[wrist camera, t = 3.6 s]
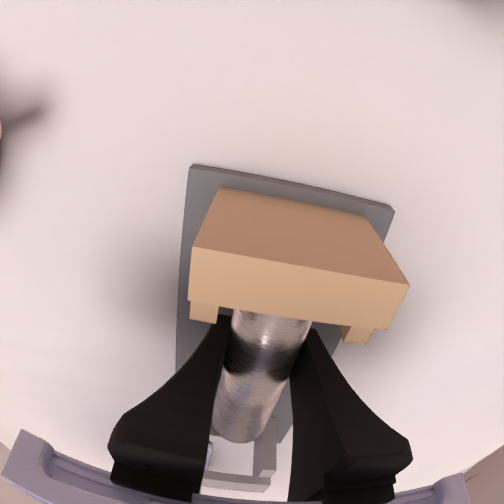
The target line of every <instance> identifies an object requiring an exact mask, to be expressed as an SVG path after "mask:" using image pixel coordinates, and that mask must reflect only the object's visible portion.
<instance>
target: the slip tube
mask: <svg viewBox="0 0 504 504" xmlns="http://www.w3.org/2000/svg"><path fill="white" fill-rule="evenodd" d="M311 323H312V321H307V320H300V319H294V318H287V317H280V316H274V315H268V314H261V313H255V312H249V311H243V310H238V309H233V314H232V319H231V329H230V334H229V339H228V344H227V349H226V354H225V359H224V364H223V369H222V373H221V377H220V381H219V387H218V392H217V397H216V402H215V408H214V413H213V425H214V428H215V430H216V431H217V432H218V434H219V435H220V436H222V437H223V438H224V439H226V440H228V441H231V442H235V443H247V442H251V441H253V440H255V439H256V438H258V437H259V436H260V435H261V433H262V432H263V430H264V428H265V426H266V424H267V422H268V420H269V418H270V416H271V413H272V411H273V409H274V407H275V405H276V403H277V401H278V399H279V397H280V395H281V392H282V390H283V388H284V386H285V384H286V382H287V379H288V377H289V375H290V373H291V370H292V368H293V366H294V364H295V361H296V359H297V357H298V354H299V352H300V350H301V347H302V345H303V343H304V340H305V338H306V336H307V333H308V331H309V328H310V326H311Z"/></svg>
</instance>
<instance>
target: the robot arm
mask: <svg viewBox="0 0 504 504" xmlns="http://www.w3.org/2000/svg"><path fill="white" fill-rule="evenodd" d="M231 319H232V316H228V315H222V314H218V316H217V321H216V324H214V323H212V324H211V326H210V328H209V330H208V331H207V333H206V335H205V336H204V338H203V339H202V341H201V342H200V344H199V346H198V347H197V348H196V350H195V351H194V352H193V354H192V355H191V356H190V357H189V359H188V360H187V361H186V362H185V364H184V365H183V366H182V367H181V368H180V369H179V370H178V371H177V372H176V373H175V374H174V375H173V376H172V377H171V378H170V379H169V380H168V381H167V382H166V383H165V384H164V385H163V386H162V387H161V388H159V389H158V390H157V391H156V392H155V393H153V394H152V395H151V396H149V397H148V398H147V399H146V400H144V401H143V402H141V403H140V404H138V405H137V406H135V407H134V408H132V409H131V410H129V411H127V412H126V413H124V414H123V415H122V417H121V418H120V420H119V421H118V423H117V424H116V426H115V428H114V430H113V432H112V434H111V437H110V440H109V443H108V446H107V447H108V450H109V452H110V454H111V456H112V458H113V460H114V461H115V462H114V465H113V469H112V472H108V471H105V470H102V469H100V468H97V467H94V466H91V465H89V464H86V463H83V462H81V461H78V460H76V459H73V458H71V457H69V456H66V455H64V454H62V453H59V452H57V451H55V450H54V449H53V447H52V446H51V445H50V444H49V443H48V442H46V441H45V440H43V439H41V438H39V437H37V436H35V435H33V434H31V433H29V432H27V431H25V430H24V429H22V430H20V433H19V435H18V437H17V439H16V441H15V443H14V446H13V448H12V450H11V452H10V455H9V457H8V459H7V462H6V464H5V466H4V469H3V471H2V474H1V476H2V477H3V478H4V479H5V480H7V481H8V482H9V483H11V484H12V485H14V486H15V487H17V488H18V489H20V490H21V491H23V492H24V493H25V494H27V495H29V496H31V497H32V498H34V499H36V500H38V501H40V502H42V503H44V504H471V503H470V499H469V495H468V491H467V487H466V483H465V480H464V476H463V473H458V474H454V475H451V476H447V477H445V478H442V479H440V480H439V481H437V482H435V483H434V484H433V485H430V486H426V487H422V488H417V489H413V490H408V491H403V492H398V493H394V489H393V484H394V483H396V478H395V475H396V474H398V473H399V472H400V471H402V470H403V469H405V468H406V467H407V466H408V465H409V464H410V463H411V462H412V460H413V456H412V452H411V447H410V444H409V441H408V439H406V438H405V437H403V436H402V435H401V434H399V433H398V432H396V431H395V430H394V429H392V428H391V427H390V426H388V425H387V424H386V423H385V422H384V421H382V420H381V419H380V418H379V417H378V416H377V415H376V414H375V413H374V412H373V411H372V410H371V409H370V408H369V407H368V406H367V405H366V404H365V403H364V402H363V401H362V400H361V399H360V398H359V396H358V395H357V394H356V393H355V392H354V390H353V389H352V388H351V386H350V385H349V384H348V382H347V381H346V380H345V378H344V377H343V375H342V374H341V372H340V371H339V369H338V367H337V366H336V364H335V363H334V361H333V359H332V358H331V356H330V354H329V352H328V351H327V349H326V347H325V345H324V343H323V342H322V340H321V338H320V336H319V334H318V332H317V331H316V329H311V328H309V331H308V333H307V336H306V338H305V340H304V343H303V345H302V347H301V350H300V352H299V354H298V357H297V359H296V361H295V364H294V366H293V368H292V370H291V373H290V375H289V382H290V394H291V404H292V415H293V449H292V465H291V476H290V485H289V492H288V500H287V502H274V501H255V500H242V499H232V498H223V497H215V496H208V495H202V494H200V493H201V483H202V479H203V474H204V470H206V471H207V470H208V465H209V461H210V457H211V452H212V447H213V446H212V445H211V444H210V443H209V436H210V428H211V421H212V414H213V406H214V400H215V396H216V392H217V389H218V385H219V381H220V377H221V373H222V369H223V364H224V359H225V354H226V349H227V344H228V339H229V334H230V329H231Z"/></svg>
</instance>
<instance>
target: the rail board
mask: <svg viewBox="0 0 504 504" xmlns="http://www.w3.org/2000/svg"><path fill="white" fill-rule="evenodd" d="M394 213H395V211H394V210H393V209H392V208H391V206H388V205H385V204H381V203H377V202H373V201H370V200H366V199H362V198H358V197H354V196H350V195H346V194H342V193H338V192H334V191H329V190H325V189H321V188H316V187H312V186H307V185H303V184H298V183H293V182H289V181H284V180H279V179H274V178H269V177H264V176H259V175H253V174H248V173H242V172H237V171H231V170H225V169H219V168H213V167H207V166H201V165H194V164H193V165H192V166H191V167H190V168H189V173H188V182H187V191H186V200H185V210H184V220H183V231H182V243H181V256H180V270H179V286H178V305H177V329H176V372H177V371H178V370H179V369H180V368H181V367H182V366H183V365H184V364H185V362H186V361H187V360H188V359H189V357H190V356H191V355H192V354H193V352H194V351H195V350H196V348H197V347H198V346H199V344H200V342H201V341H202V339H203V338H204V336H205V335H206V333H207V331H208V330H209V328H210V326H211V324H212V323H214V324H216V321H217V316H218V314H222V315H228V316H232V314H233V309H238V310H243V311H249V312H255V313H261V314H268V315H274V316H280V317H287V318H294V319H300V320H307V321H312V323H311V326H310V328H311V329H316V331H317V332H318V334H319V336H320V338H321V340H322V342H323V343H324V345H325V347H326V349H327V351H328V352H329V354H330V356H332V354H333V352H334V350H335V348H336V346H337V344H338V342H339V340H340V338H341V336H342V339H343V342H347V343H357V344H366V342H367V341H368V339H369V337H370V335H371V334H372V332H373V330H374V329H381V330H386V329H387V328H388V326H389V324H390V322H391V320H392V319H393V317H394V315H395V313H396V311H397V309H398V308H399V306H400V304H401V302H402V300H403V298H404V296H405V294H406V292H407V290H408V288H409V286H410V284H409V283H408V281H407V280H406V278H405V276H404V275H403V273H402V271H401V270H400V268H399V267H398V265H397V263H396V262H395V260H394V259H393V257H392V256H391V254H390V253H389V251H388V250H387V248H386V247H385V245H384V240H385V237H386V235H387V232H388V230H389V227H390V224H391V222H392V219H393V216H394ZM218 387H219V385H218ZM217 392H218V389H217ZM217 392H216V396H215V400H214V406H213V413H214V408H215V402H216V397H217ZM292 424H293V415H292V404H291V394H290V382H289V377H288V379H287V382H286V384H285V386H284V388H283V390H282V392H281V395H280V397H279V399H278V401H277V403H276V405H275V407H274V409H273V411H272V413H271V416H270V418H269V420H268V422H267V424H266V426H265V428H264V430H263V432H262V433H261V435H260V436H259V437H258V438H256V439H255V440H253V441H254V460H253V476H245V475H236V474H227V473H220V472H213V471H206V470H204V474H203V479H202V483H201V486H206V487H213V488H220V489H228V490H237V491H248V492H262V493H264V492H265V491H266V489H267V488H268V487H269V486H270V477H271V476H272V475H273V474H274V473H275V471H276V443H281V441H282V440H283V438H284V436H285V435H286V433H287V432H288V430H289V429H290V427H291V425H292ZM210 435H214V436H220V435H219V434H218V432H217V431H216V430H215V428H214V425H213V414H212V421H211V428H210ZM221 437H222V436H221Z"/></svg>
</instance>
